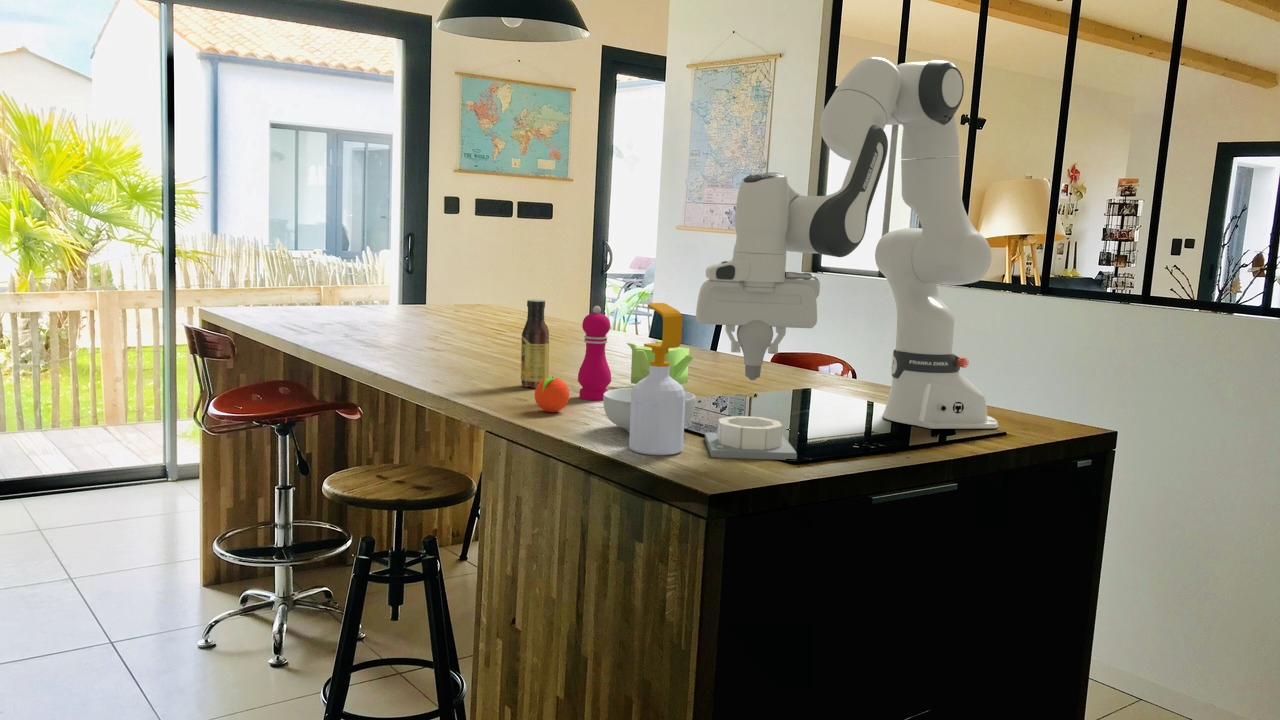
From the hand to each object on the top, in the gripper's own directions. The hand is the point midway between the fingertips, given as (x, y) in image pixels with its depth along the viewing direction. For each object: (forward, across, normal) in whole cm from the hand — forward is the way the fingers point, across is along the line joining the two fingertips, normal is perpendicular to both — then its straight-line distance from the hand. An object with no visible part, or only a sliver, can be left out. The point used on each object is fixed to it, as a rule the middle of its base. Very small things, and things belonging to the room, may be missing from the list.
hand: (754, 352), depth 165 cm
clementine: (+17, +36, -27) cm, 48 cm away
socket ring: (+15, 0, 0) cm, 15 cm away
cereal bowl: (+17, +17, -12) cm, 27 cm away
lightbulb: (+5, 0, 0) cm, 5 cm away
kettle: (+17, +14, -61) cm, 65 cm away
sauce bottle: (+17, +42, -57) cm, 73 cm away
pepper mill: (+17, +28, -45) cm, 56 cm away
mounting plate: (+17, 0, 0) cm, 17 cm away
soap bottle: (+17, +16, +3) cm, 23 cm away
